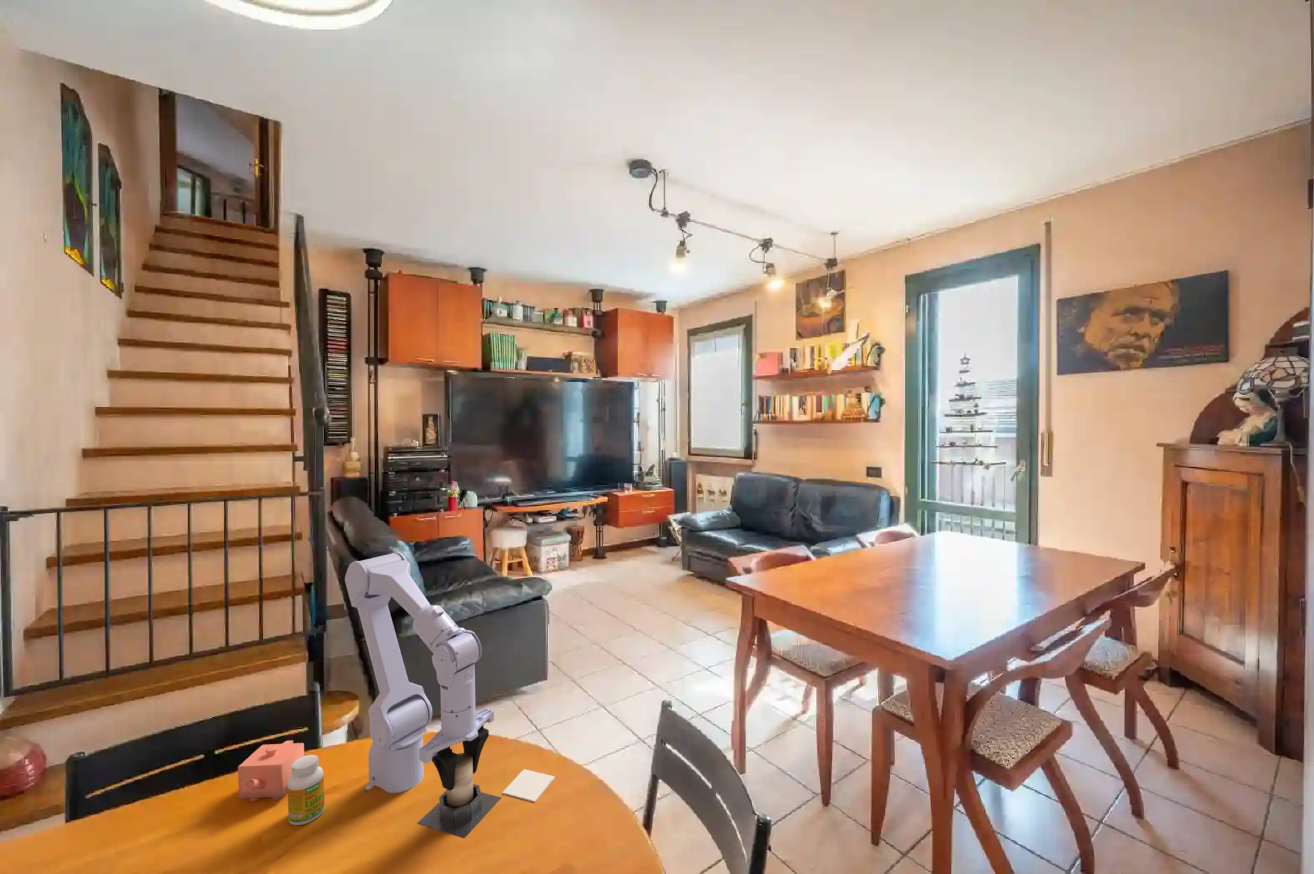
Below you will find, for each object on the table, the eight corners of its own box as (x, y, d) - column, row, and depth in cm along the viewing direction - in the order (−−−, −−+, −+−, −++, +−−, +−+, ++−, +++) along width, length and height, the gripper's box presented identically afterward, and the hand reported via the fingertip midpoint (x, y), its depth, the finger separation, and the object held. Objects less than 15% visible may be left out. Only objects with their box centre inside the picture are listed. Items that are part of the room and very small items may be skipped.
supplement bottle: (307, 828, 92) (305, 773, 92) (280, 823, 93) (278, 769, 93) (331, 806, 98) (330, 753, 97) (306, 802, 99) (305, 750, 98)
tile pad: (502, 797, 99) (502, 792, 99) (524, 773, 106) (523, 768, 106) (535, 806, 97) (535, 800, 97) (555, 781, 104) (555, 776, 103)
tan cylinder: (441, 802, 94) (440, 763, 94) (461, 787, 98) (461, 750, 98) (458, 811, 92) (457, 771, 92) (478, 795, 96) (477, 757, 96)
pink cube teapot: (226, 817, 95) (224, 771, 95) (270, 772, 107) (269, 732, 107) (272, 814, 96) (270, 769, 95) (311, 770, 108) (309, 730, 107)
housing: (417, 827, 92) (416, 808, 92) (457, 789, 102) (456, 772, 101) (464, 842, 89) (464, 823, 89) (501, 801, 98) (501, 784, 98)
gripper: (438, 731, 86) (440, 813, 87) (505, 691, 99) (506, 763, 99) (410, 719, 90) (412, 798, 90) (478, 682, 102) (479, 751, 103)
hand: (459, 779), depth 95 cm, fingers closed on tan cylinder, 4 cm apart
